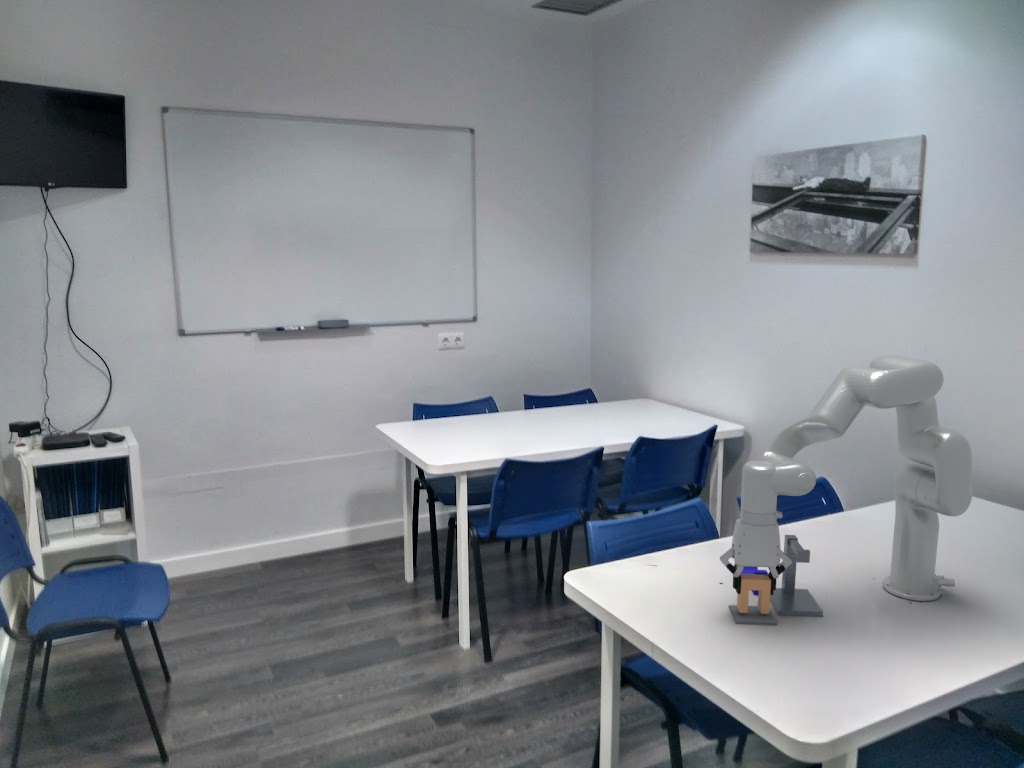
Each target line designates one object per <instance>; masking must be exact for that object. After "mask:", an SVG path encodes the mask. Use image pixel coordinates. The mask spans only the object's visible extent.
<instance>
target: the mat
mask: <svg viewBox="0 0 1024 768" xmlns="http://www.w3.org/2000/svg"><path fill="white" fill-rule="evenodd" d="M728 608H729V609H728V610H729V611H730V614H731V616H732V618H733V621H734V623H735V624H737V625H758V626H759V625H762V626H765V625H766V626H777V625H778V622H777V619H776V618H775V617H774V615H773V612H772V611H771V609H770V608H769V614H761V613H760V611H759V609H758V605H748V613H740V612H739V610H738V608H737V604H728Z"/></svg>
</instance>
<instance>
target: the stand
mask: <svg viewBox="0 0 1024 768" xmlns="http://www.w3.org/2000/svg"><path fill="white" fill-rule="evenodd" d="M783 544H784V545H783V553H785V554H786V555H787V556H788V557H789V558H790V559H791V561H792V564H790V565H789V566H788V567H787V568H786V569H785V571H783V572H782V573H781V574H782V576H781V588H780V587H776V590H774V592H773V595H770V604H771V605H772V608H773V609H774V611H775V612H776V614H777V615H778V616H794V617H795V616H796V617H817V618H818V617H821V618H823V617H824V611H823V609H822V608H821V606H820V605H819V604H818V602H817V601H816V600H815V598H814V596H813V595H812V593H810V591H809V589H807V588H796V574H797V563H801V564H802V563H805V564H807V563H808V564H809V563H810V561H811V560H810V559H811V550H810V549H804V547H803V546H802V545H801V543H800V542H799V538H798V537H797V535H795V534H785V535H784V542H783Z"/></svg>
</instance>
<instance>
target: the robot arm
mask: <svg viewBox="0 0 1024 768" xmlns="http://www.w3.org/2000/svg"><path fill="white" fill-rule="evenodd" d="M944 379H945V378H944V374H943V371H942V369H941V368H940V367H939V366H938V365H936V364H935V363H934V362H931V361H926V360H921V359H917V358H916V359H915V358H910V357H905V356H898V355H890V354H888V355H887V354H886V355H885V354H884V355H879V356H876V357H875V358H873V359H872V361H871V362H870V364H869V366H864V365H856V364H855V365H854V364H853V365H848V366H845V367H844V368H843V369H841V370H840V372H839V373H838V374H837V375H836V377H835V378H834V379H833V381H832V383H830V385H829V386H828V387H827V390H825V392H824V393H823V395H822V396H821V398H820V399H819V400H818V401H817V403H816V404H815V405H814V406H813V409H812V410H810V412H809V413H808V414H807V415H805V416H804V417H802V418H800V419H798V420H796V421H795V422H792V423H791V424H790V425H788V426H787V427H785V428H784V429H782V430H780V432H779V433H777V434H776V435H775V436H774V437H773V438H772V439H771V441H770V442H769V444H768V445H767V446H766V448H765V449H764V450H763V452H762V454H761V455H760V457H759V459H758V460H750V461H747V462H746V463H744V465H743V466H742V474H741V476H742V477H741V493H740V495H741V497H740V511H739V512H740V513H739V514H740V518H737V519H736V520H735V524H734V528H733V533H732V540H731V546H730V547H731V548H729V549H728V550H727V551H725V552H724V553H723V554H721V556H719V560H720V562H721V563H722V564H723V565H724V566H725V568H727V570H728V571H729V572H730V573H731V574H732V588H733V589H734V590H735V592H736V593H737V595H738V594H740V593H741V579H742V578H741V576H740V574H741V572H742V570H743V568H744V566H745V567H758V568H768V569H769V572H768V577H769V578H770V580H771V590H770V595H773V592H774V590H776V588H777V579H778V578H779V576H780V575H781V574H782V573H783V571H785V569H786V568H787V567H788V566H789V565H790V564H792V561H791V559H790V558H789V557H788V556H787V555H786V554H785V553H784V551H782V550H781V537H780V528H779V522H778V521H777V520H778V519H783V512H782V511H779V510H777V499H778V496H789V497H791V496H792V497H793V496H794V497H798V496H799V497H801V496H803V495H804V496H805V495H806V494H809V493H810V492H811V491H812V490H813V489H814V488H815V486H816V482H817V477H816V473H815V471H814V470H813V469H812V468H811V467H810V466H809V465H807V464H806V463H805V462H800V461H799V460H796V459H795V458H794V457H795V456H796V455H797V454H798V453H799V452H800V451H802V450H803V449H804V448H806V447H809V446H811V445H813V444H816V443H821V442H826V441H827V442H828V441H831V440H835V439H838V438H842V437H843V436H844V435H845V434H846V432H847V430H848V429H849V428H850V426H851V425H852V424H853V422H854V421H855V419H856V418H857V417H858V416H859V414H860V413H861V411H862V410H863V409H864V407H867V406H868V407H871V408H876V409H881V410H883V409H892V408H893V409H894V408H895V410H896V411H895V412H896V421H897V422H896V423H897V424H896V426H897V427H896V428H897V440H898V441H897V444H898V449H899V452H900V454H901V456H903V458H905V459H907V460H909V461H911V462H914V463H908V464H904V465H902V466H901V467H900V468H898V470H897V471H896V473H895V474H894V478H893V484H892V485H893V495H894V503H895V505H894V506H895V509H894V510H895V512H894V513H895V514H894V515H895V516H894V526H893V527H894V528H893V536H892V537H893V538H892V551H891V562H890V573H889V574H890V576H887V577H885V578H883V580H882V584H881V585H882V588H883V589H884V590H885V591H886V592H888V593H890V594H891V595H894V596H897V597H899V598H902V599H907V600H910V601H911V600H912V601H919V602H929V601H935V600H937V599H939V598H940V596H941V589H940V588H943V587H948V588H949V587H950V588H951V587H952V588H954V587H956V580H955V579H954V578H945V576H944V575H942V574H941V575H939V574H938V575H936V574H935V573H936V567H937V566H936V565H937V555H938V554H937V553H938V543H939V534H940V533H939V532H940V519H939V514H940V515H943V516H946V517H959V516H961V515H963V514H964V513H966V512H967V510H968V509H969V508H970V506H971V503H972V498H973V488H974V487H973V485H974V483H973V461H972V460H973V456H972V448H971V444H970V443H969V440H968V439H967V438H966V436H964V435H963V434H962V433H960V432H959V431H956V430H953V429H950V428H947V427H946V428H945V427H942V426H941V425H940V423H939V416H938V406H937V405H938V404H937V401H936V397H935V396H936V395H937V394H939V392H940V390H941V389H942V387H943V385H944ZM731 558H732V559H733V561H734V564H732V563H731V562H729V560H730V559H731ZM781 560H782V561H781Z"/></svg>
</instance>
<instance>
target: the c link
mask: <svg viewBox="0 0 1024 768" xmlns="http://www.w3.org/2000/svg"><path fill="white" fill-rule="evenodd" d="M740 576H741V578H742V579H741V593H740V594H737V598H736V601H737V602H736V605H737V608H738V610H739V612H740V613H748V606H749V601H750V600H749V599H750V598H749V597H750V591H752V590H759V595H757V597H758V598H757V606H758V609H759V611H760V613H761V614H769V609H770V604H771V602H770V590H771V580H770V578H769V577H768V575H756V574H740Z"/></svg>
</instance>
